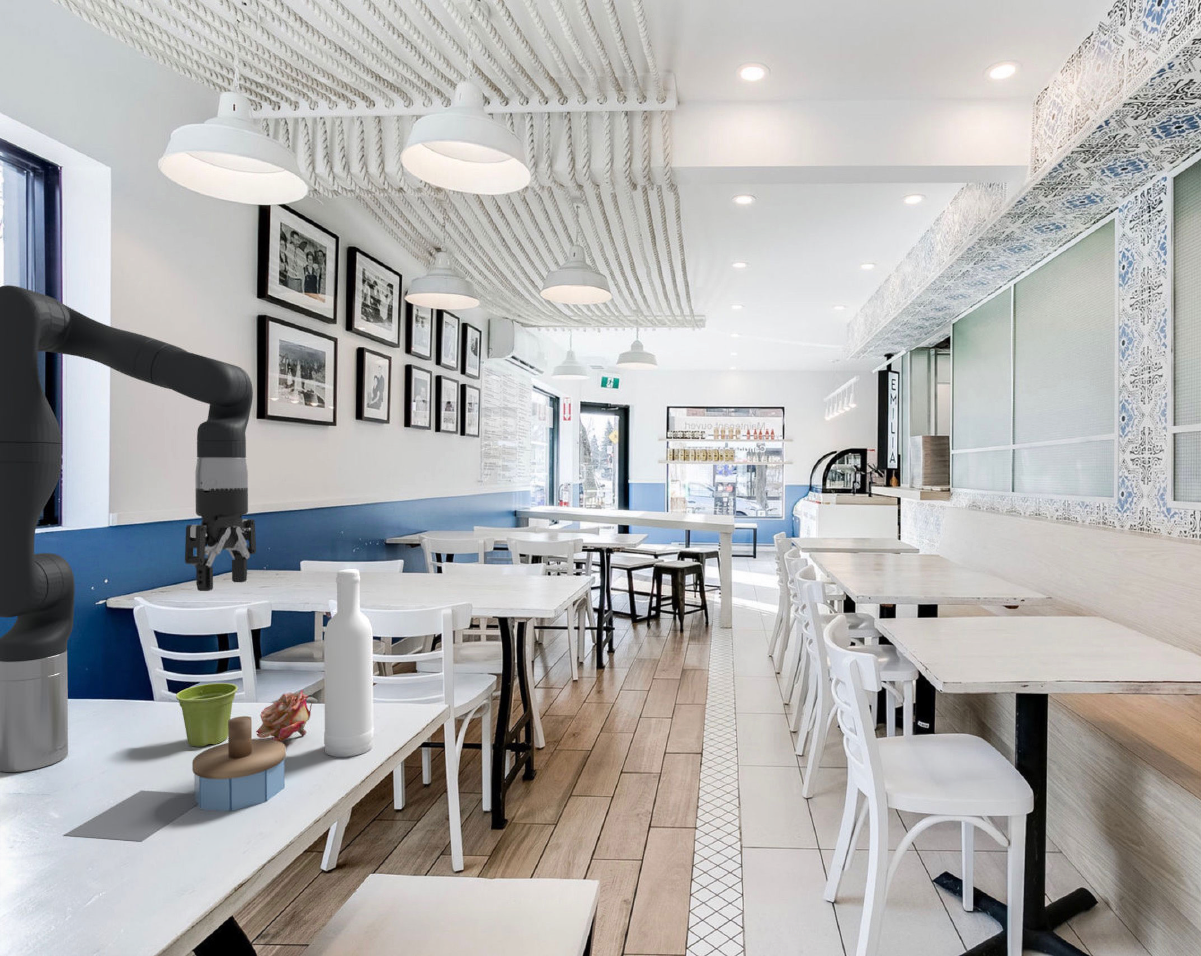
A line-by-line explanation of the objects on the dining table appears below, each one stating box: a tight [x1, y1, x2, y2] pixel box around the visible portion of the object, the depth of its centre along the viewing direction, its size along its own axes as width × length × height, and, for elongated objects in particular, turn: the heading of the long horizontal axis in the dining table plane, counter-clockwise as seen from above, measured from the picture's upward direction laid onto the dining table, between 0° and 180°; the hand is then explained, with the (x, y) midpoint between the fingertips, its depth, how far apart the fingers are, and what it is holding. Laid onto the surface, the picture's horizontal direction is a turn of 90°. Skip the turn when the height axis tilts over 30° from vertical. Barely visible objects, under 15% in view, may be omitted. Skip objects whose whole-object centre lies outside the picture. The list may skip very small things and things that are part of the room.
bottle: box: [323, 568, 375, 758], centre depth 123 cm, size 8×8×30 cm
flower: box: [255, 689, 313, 743], centre depth 127 cm, size 10×9×8 cm
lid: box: [191, 715, 287, 779], centre depth 105 cm, size 12×12×6 cm
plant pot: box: [175, 682, 239, 748], centre depth 126 cm, size 9×9×9 cm
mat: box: [63, 790, 198, 843], centre depth 98 cm, size 11×13×1 cm
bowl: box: [193, 759, 286, 812], centre depth 105 cm, size 11×11×5 cm
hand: (222, 586), depth 118 cm, fingers open, 8 cm apart
